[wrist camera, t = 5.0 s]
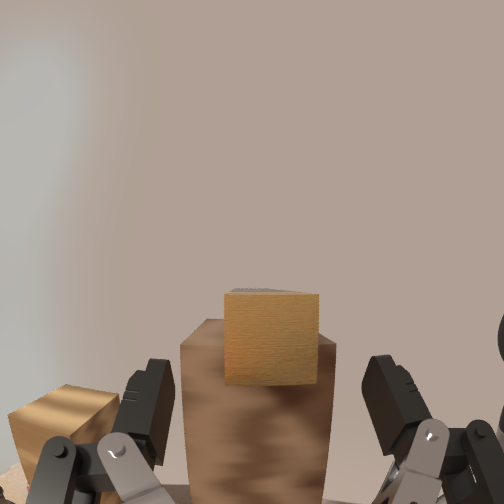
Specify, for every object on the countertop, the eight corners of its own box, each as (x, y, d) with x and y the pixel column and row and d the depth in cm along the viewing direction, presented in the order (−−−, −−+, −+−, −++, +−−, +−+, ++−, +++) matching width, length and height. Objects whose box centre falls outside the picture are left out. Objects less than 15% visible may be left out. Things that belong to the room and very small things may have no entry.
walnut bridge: (285, 519, 32) (295, 319, 35) (301, 595, 16) (336, 343, 19) (215, 520, 31) (207, 318, 35) (207, 597, 15) (180, 344, 19)
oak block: (92, 501, 30) (65, 384, 32) (139, 513, 31) (118, 393, 33) (58, 548, 17) (7, 414, 20) (115, 567, 18) (69, 435, 20)
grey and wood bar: (235, 319, 35) (235, 288, 35) (266, 319, 35) (266, 288, 35) (224, 385, 11) (224, 294, 11) (316, 383, 11) (319, 294, 11)
